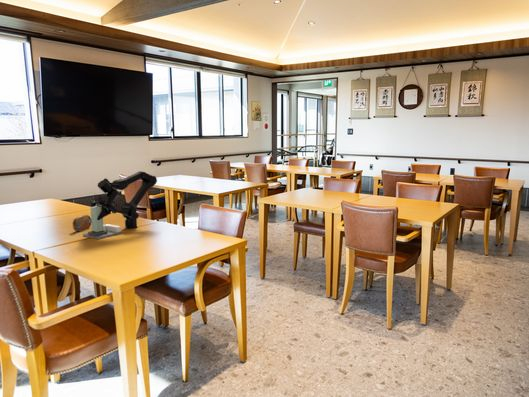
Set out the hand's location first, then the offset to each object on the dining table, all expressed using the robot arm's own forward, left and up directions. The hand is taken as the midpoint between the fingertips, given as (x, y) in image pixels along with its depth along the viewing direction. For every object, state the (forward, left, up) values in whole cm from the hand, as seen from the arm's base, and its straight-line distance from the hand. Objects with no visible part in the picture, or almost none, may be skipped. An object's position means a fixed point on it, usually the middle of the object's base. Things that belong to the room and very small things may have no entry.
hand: (95, 219), depth 230 cm
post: (-1, -1, -7) cm, 7 cm away
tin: (+6, -20, -10) cm, 23 cm away
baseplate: (-5, -3, -10) cm, 11 cm away
